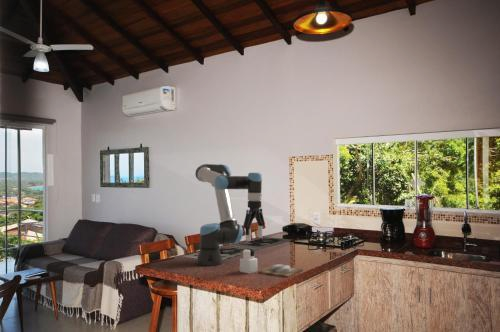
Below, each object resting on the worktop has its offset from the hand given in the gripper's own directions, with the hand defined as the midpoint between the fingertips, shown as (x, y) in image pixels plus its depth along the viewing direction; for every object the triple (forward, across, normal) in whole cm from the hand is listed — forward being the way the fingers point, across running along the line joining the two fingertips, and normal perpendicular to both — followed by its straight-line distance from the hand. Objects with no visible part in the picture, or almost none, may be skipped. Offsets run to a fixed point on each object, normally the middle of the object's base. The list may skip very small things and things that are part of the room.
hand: (254, 239), depth 202 cm
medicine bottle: (+18, -3, +2) cm, 18 cm away
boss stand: (+17, +6, -14) cm, 23 cm away
